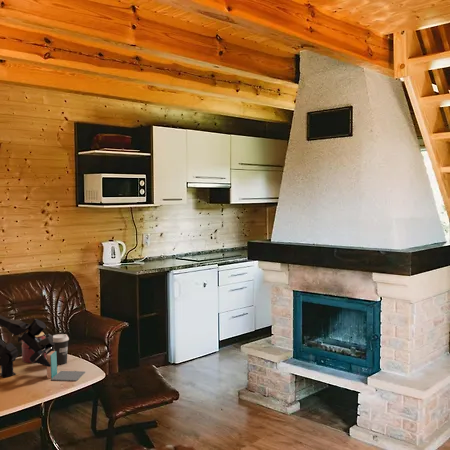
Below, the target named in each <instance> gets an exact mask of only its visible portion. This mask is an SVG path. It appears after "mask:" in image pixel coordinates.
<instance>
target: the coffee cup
mask: <svg viewBox="0 0 450 450" xmlns="http://www.w3.org/2000/svg"><path fill="white" fill-rule="evenodd" d="M52 336H53V342H54V343H55V347H54V351H56V355H57V357H58V359H59V360H58V361H57V366H62V365H65V364H67V363H68V351H69V350H68V349H69V348H68V347H69V340H70V337H69V336H68V334H66V333H65V334H64V333H59V334H53V335H52Z"/></svg>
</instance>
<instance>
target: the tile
mask: <svg viewBox="0 0 450 450" xmlns="http://www.w3.org/2000/svg"><path fill="white" fill-rule="evenodd" d="M46 360H47V361H48V362H49V363H50V365H51V366H50V367H48V366H46V378H47V379H52V378H53V377H54V376H55V375H57V374H58V365H57V355H56V351H51V352H50V353H48V354H47V355H46Z"/></svg>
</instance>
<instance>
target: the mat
mask: <svg viewBox="0 0 450 450" xmlns="http://www.w3.org/2000/svg"><path fill="white" fill-rule="evenodd" d="M85 373H86V371H83V370H82V371H80V370H60V371H59V372H57V375H55V376H54V377H53V378H50V381H53V382H55V381H57V382H58V381H59V382H60V381H61V382H77V381H78V380H79V379H80V378H81V377H82V376H84V374H85Z"/></svg>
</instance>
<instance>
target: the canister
mask: <svg viewBox="0 0 450 450" xmlns="http://www.w3.org/2000/svg"><path fill="white" fill-rule="evenodd" d="M35 336H36V335H35ZM36 337H37V338H38V339H39V338H41V339H44V338H46V335H45V333H44V332H43V331H42V332H41V333H40V334H39V335H38V336H36ZM28 348H29V346H28V345H27V344H26V343H25V342H24V341H23V340H22V341H21V358H22V362H23V363H26V364H27V363H28V364H35V363H34V362H35V361H36V360H35V361H34V362H33V363H32V362H31V361H30V359H29V358H30V357H31V356H32V355H33V354H34V353H35V352H34V351H33V350H32V349H30V350H29V349H28ZM42 354H43V353H42ZM45 354H46V353H44V357H45V358H46V355H45Z"/></svg>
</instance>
